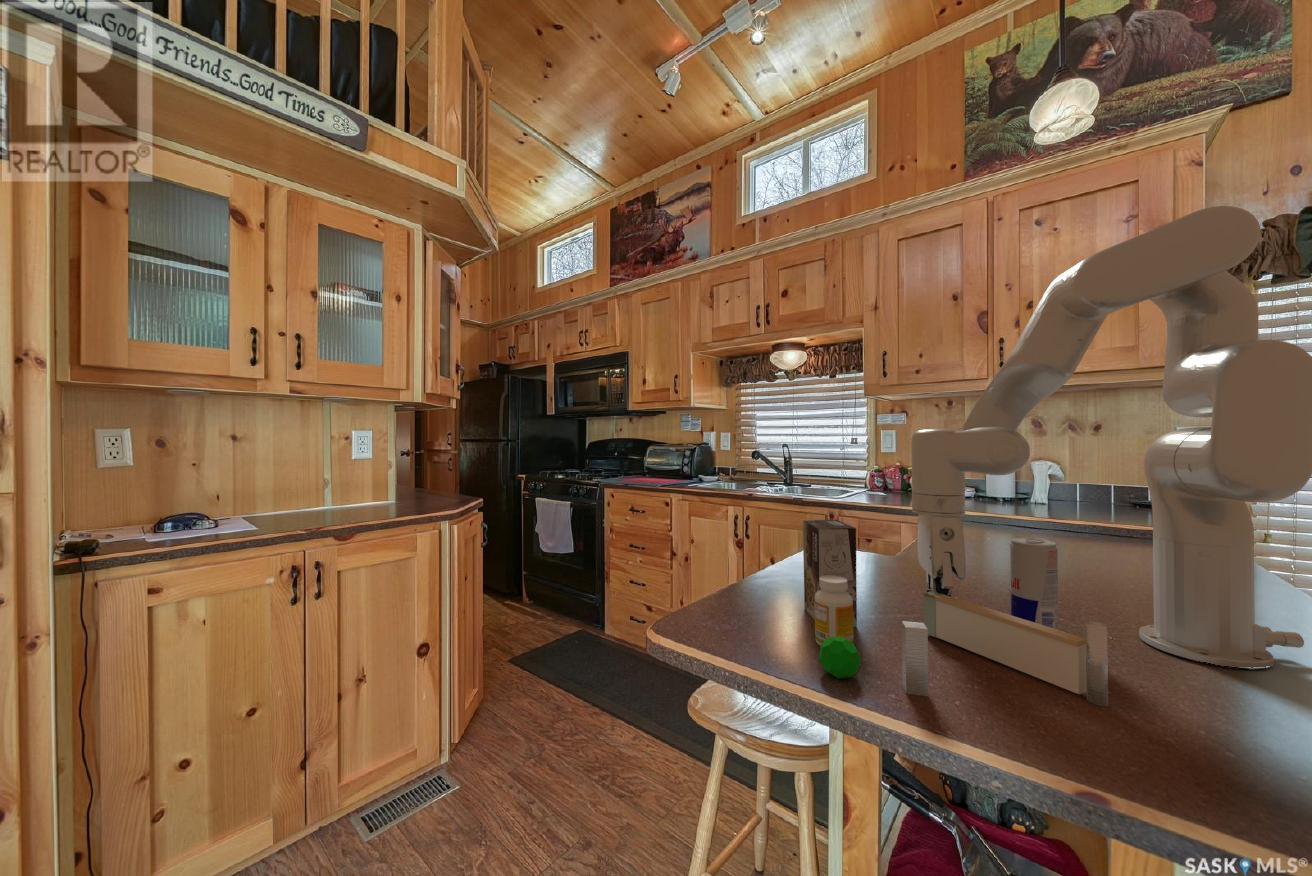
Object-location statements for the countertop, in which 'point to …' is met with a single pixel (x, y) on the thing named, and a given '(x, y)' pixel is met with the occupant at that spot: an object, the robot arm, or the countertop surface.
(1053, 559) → the beverage can
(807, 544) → the coffee box
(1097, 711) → the countertop surface
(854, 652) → the polyhedron
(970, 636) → the gate
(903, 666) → the gate frame
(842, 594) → the supplement bottle
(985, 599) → the countertop surface
